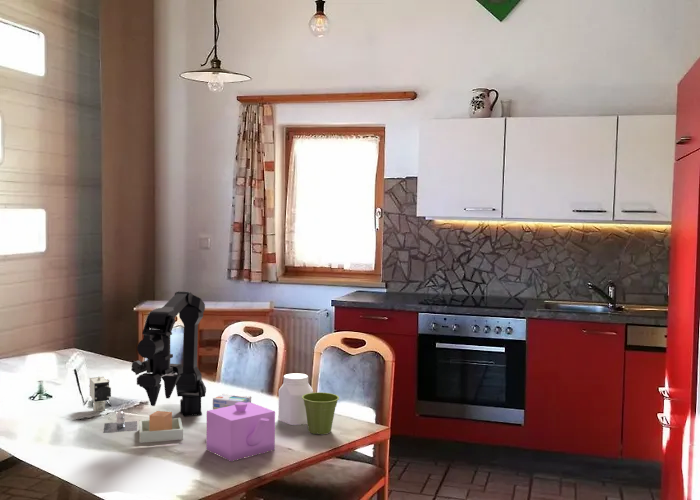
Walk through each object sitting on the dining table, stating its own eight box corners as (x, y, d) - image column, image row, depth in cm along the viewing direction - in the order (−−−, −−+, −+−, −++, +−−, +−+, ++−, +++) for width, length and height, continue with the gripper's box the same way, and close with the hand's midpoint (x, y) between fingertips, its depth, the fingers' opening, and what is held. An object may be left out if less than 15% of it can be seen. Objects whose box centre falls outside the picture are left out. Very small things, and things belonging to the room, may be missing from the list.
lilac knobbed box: (245, 469, 194) (245, 418, 194) (197, 445, 213) (198, 399, 212) (289, 456, 205) (290, 408, 204) (240, 435, 223) (240, 391, 222)
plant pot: (325, 439, 220) (325, 403, 219) (294, 433, 226) (294, 397, 225) (345, 430, 230) (346, 395, 229) (315, 423, 236) (315, 390, 236)
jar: (317, 421, 239) (318, 377, 238) (295, 426, 232) (295, 381, 232) (295, 413, 247) (296, 371, 247) (273, 419, 241) (274, 375, 240)
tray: (180, 428, 228) (180, 417, 228) (182, 441, 216) (183, 429, 216) (139, 431, 225) (139, 420, 225) (139, 444, 213) (139, 432, 212)
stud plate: (136, 422, 234) (136, 406, 234) (137, 432, 224) (137, 414, 224) (104, 425, 231) (104, 408, 231) (103, 434, 221) (103, 417, 221)
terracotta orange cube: (157, 431, 224) (157, 410, 223) (171, 432, 222) (172, 412, 222) (149, 436, 219) (149, 415, 218) (164, 437, 218) (164, 416, 217)
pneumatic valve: (95, 416, 240) (95, 381, 239) (89, 407, 250) (88, 374, 250) (112, 414, 243) (112, 379, 242) (105, 406, 253) (105, 372, 252)
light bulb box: (251, 429, 229) (252, 396, 229) (241, 435, 223) (242, 401, 222) (222, 425, 233) (222, 392, 232) (211, 431, 226) (211, 397, 226)
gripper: (151, 344, 230) (151, 392, 231) (120, 355, 212) (120, 407, 212) (183, 346, 227) (183, 395, 228) (154, 358, 209) (154, 410, 210)
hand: (160, 402), depth 220 cm, fingers open, 9 cm apart
